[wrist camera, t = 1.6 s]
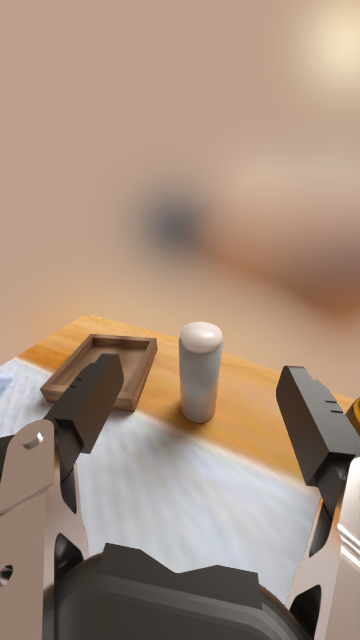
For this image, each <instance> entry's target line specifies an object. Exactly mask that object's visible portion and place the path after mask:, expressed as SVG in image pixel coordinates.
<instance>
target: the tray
mask: <svg viewBox="0 0 360 640" xmlns="http://www.w3.org/2000/svg"><path fill="white" fill-rule="evenodd" d="M156 352H157V340H156V338H143V337H128V336H114V335H99V334H90V335H89V336H88V337H87V338H86V340H85V341H84V342H83V343H82V344H81V345H80V346H79V347H78V348H77V349H76V350H75V351H74V353H73V354H72V355H71V356H70V357H69V358H68V359H67V360H66V361H65V362H64V363H63V364H62V366H61V367H60V368H59V369H58V370H57V371H56V372H55V373H54V374H53V375H52V376H51V377H50V379H49V380H48V381H47V382H46V383H45V384H44V385H43V386H42V387H41V388H40V390H41V392H42V394H43V395H44V397H45V399H46V400H47V401H49V402H57V400H58V399H59V398H60V397H61V395H62V394H63V393H64V392H65V390H66V389H67V388H68V387H69V385H70V384H71V383H72V381H73V380H75V378H76V376H77V375H78V374H79V372H80V371H81V370H82V369H83V368H85V367H86V366H87V365H89V364H90V363H95V361H96V360H97V359H98V357H99V356H100V355H101V354H102V353H110V354H118V355H119V358H120V362H121V366H122V370H123V374H124V383H123V386H122V389H121V391H120V393H119V395H118V397H117V399H116V401H115V403H114V405H113V407H112V409H115V410H124V411H132V412H135V409H136V406H137V404H138V401H139V398H140V395H141V393H142V390H143V387H144V385H145V382H146V379H147V376H148V374H149V371H150V368H151V366H152V363H153V360H154V357H155V355H156Z"/></svg>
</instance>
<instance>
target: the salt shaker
mask: <svg viewBox="0 0 360 640" xmlns="http://www.w3.org/2000/svg"><path fill="white" fill-rule="evenodd" d="M221 338H222V332H221V330H220V329H219V328H218V327H217V326H215V325H213V324H211V323H207V322H193V323H189V324H187V325H185V326H184V327H183V328H182V329H181V332H180V338H179V365H180V397H181V411H182V413H183V415H184V416H185V417H186V418H187V419H188V420H190V421H192V422H195V423H203V422H206V421H208V420H210V419H211V418H212V417H213V415H214V412H215V406H216V397H217V389H218V380H219V371H220V363H221V354H222V345H223V342H222V339H221Z"/></svg>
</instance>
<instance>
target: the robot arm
mask: <svg viewBox="0 0 360 640" xmlns="http://www.w3.org/2000/svg"><path fill="white" fill-rule="evenodd" d="M123 383H124V374H123V370H122V366H121V362H120V358H119V355H118V354H110V353H102V354H101V355H100V356H99V357H98V359H97V360H96V361H95V363H90V364H89V365H87V366H86V367H85V368H83V369H82V370H81V371H80V372H79V374H78V375H77V376H76V378H75V380H73V381H72V383H71V384H70V385H69V387H68V388H67V389H66V390H65V392H64V393H63V394H62V395H61V397H60V398H59V399H58V400H57V402H56V403H55V404H54V406H53V407H52V408H51V409H50V411H49V412H48V413H47V415H46V416H45V417H44V418H43V419H42V420H37V421H34V422H32V423H30V424H28V425H26V426H25V427H23V428H22V429H21V430H20V431H18V432H17V433H16V434H15V435H11V436H6V437H1V438H0V640H360V437H359V435H358V434H357V432H356V430H355V429H354V427H353V426H352V424H351V423H350V421H349V420H348V418H347V417H346V415H345V414H343V410H342V409H341V407H340V406H339V404H337V401H336V400H335V398H334V397H333V395H332V394H331V392H330V390H329V389H327V388H326V387H325V386H324V385H323V384H322V383H321V382H320V381H318V380H313V379H312V378H311V377H310V375H309V373H308V372H307V370H306V369H305V368H304V367H297V366H284V367H283V370H282V373H281V376H280V379H279V382H278V385H277V388H276V398H277V403H278V405H279V408H280V411H281V414H282V417H283V420H284V423H285V426H286V429H287V432H288V434H289V437H290V440H291V443H292V446H293V449H294V452H295V455H296V458H297V461H298V463H299V466H300V469H301V472H302V475H303V478H304V481H305V484H306V486H314V487H318V488H319V491H320V493H321V496H322V498H321V499H320V502H319V505H318V509H317V512H316V516H315V519H314V523H313V526H312V530H311V533H310V537H309V540H308V544H307V547H306V551H305V554H304V557H303V559H302V562H301V564H300V566H299V567H298V569H297V572H296V574H295V577H294V579H293V582H292V585H291V588H290V592H289V595H288V599H287V602H286V605H285V606H284V605H283V604H282V602H281V601H280V600H279V599H278V598H277V597H276V596H274V595H273V594H272V593H271V592H270V591H268V590H267V589H266V588H265V587H263V586H261V585H260V584H259V581H258V573H255V572H250V571H245V570H240V569H235V568H230V567H225V566H220V565H215V566H210V567H206V568H201V569H197V570H192V571H188V572H183V573H175V572H173V571H171V570H170V569H168V568H167V567H165V566H164V565H162V564H161V563H159V562H158V561H156V560H155V559H153V558H152V557H151V556H149V555H148V554H146V553H145V552H143V551H142V550H140V549H135V548H130V547H125V546H120V545H115V544H110V543H106V544H105V547H104V550H103V552H102V553H99V554H96V555H94V556H91V557H89V548H88V540H87V534H86V530H85V526H84V523H83V520H82V515H81V506H80V495H79V484H78V473H77V463H76V460H77V458H78V456H79V454H80V453H86V454H90V453H91V451H92V449H93V447H94V444H95V442H96V440H97V438H98V436H99V434H100V432H101V430H102V428H103V426H104V424H105V422H106V420H107V418H108V416H109V414H110V411H111V409H112V407H113V405H114V403H115V401H116V399H117V397H118V395H119V393H120V391H121V389H122V386H123Z"/></svg>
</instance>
